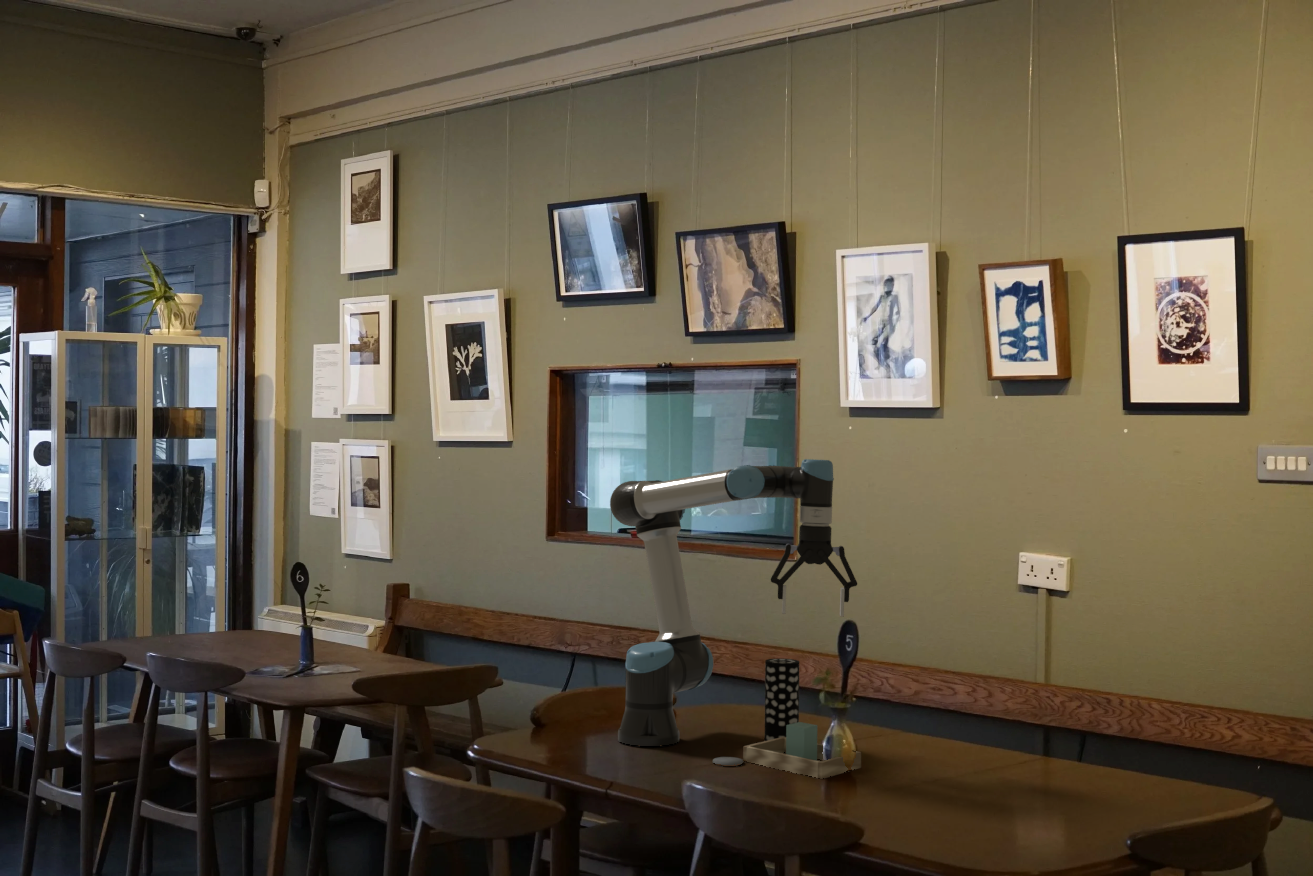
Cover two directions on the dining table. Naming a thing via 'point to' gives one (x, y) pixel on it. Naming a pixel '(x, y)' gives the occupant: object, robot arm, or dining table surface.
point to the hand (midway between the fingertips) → (812, 614)
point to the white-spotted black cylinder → (781, 696)
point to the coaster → (727, 761)
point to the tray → (795, 759)
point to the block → (801, 740)
